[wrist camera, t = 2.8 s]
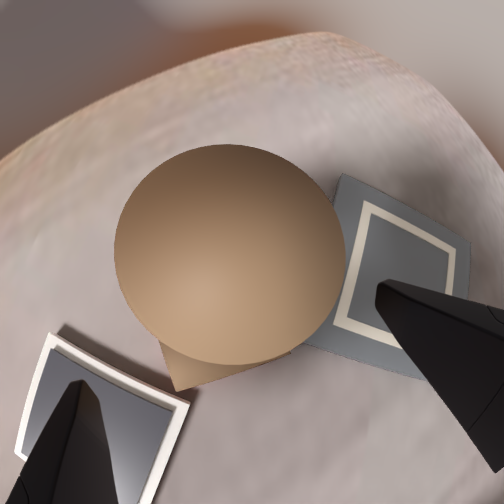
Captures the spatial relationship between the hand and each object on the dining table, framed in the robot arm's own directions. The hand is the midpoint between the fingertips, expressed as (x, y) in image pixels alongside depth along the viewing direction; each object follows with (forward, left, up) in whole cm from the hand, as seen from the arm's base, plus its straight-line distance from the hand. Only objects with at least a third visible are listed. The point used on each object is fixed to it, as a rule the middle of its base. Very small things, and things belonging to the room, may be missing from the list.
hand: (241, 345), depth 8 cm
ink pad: (+5, +8, -9) cm, 13 cm away
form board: (-10, -8, -9) cm, 16 cm away
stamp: (+1, -1, -9) cm, 9 cm away
